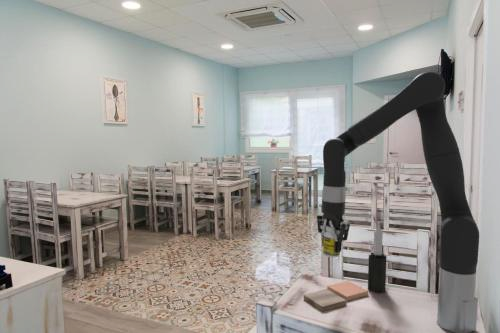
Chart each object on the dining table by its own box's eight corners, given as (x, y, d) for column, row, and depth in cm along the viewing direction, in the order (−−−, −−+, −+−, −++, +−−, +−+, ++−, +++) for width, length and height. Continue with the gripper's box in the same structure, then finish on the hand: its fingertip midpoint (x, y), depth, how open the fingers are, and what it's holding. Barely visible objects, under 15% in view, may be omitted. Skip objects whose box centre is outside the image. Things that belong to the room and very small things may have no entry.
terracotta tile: (368, 294, 127) (368, 290, 127) (346, 300, 122) (346, 296, 122) (348, 284, 136) (348, 280, 136) (327, 289, 131) (327, 285, 131)
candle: (366, 289, 131) (368, 222, 129) (373, 285, 135) (375, 220, 133) (379, 294, 127) (382, 224, 125) (386, 290, 131) (388, 222, 129)
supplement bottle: (320, 256, 119) (322, 226, 118) (325, 251, 124) (326, 223, 123) (337, 259, 116) (338, 229, 115) (341, 254, 121) (342, 225, 120)
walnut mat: (346, 304, 120) (346, 300, 119) (322, 311, 115) (322, 306, 115) (326, 293, 128) (326, 288, 128) (303, 298, 124) (303, 294, 124)
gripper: (358, 202, 114) (355, 254, 115) (328, 195, 126) (326, 242, 128) (339, 204, 110) (337, 257, 112) (310, 196, 123) (309, 244, 124)
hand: (331, 249), depth 120 cm, fingers closed on supplement bottle, 5 cm apart
